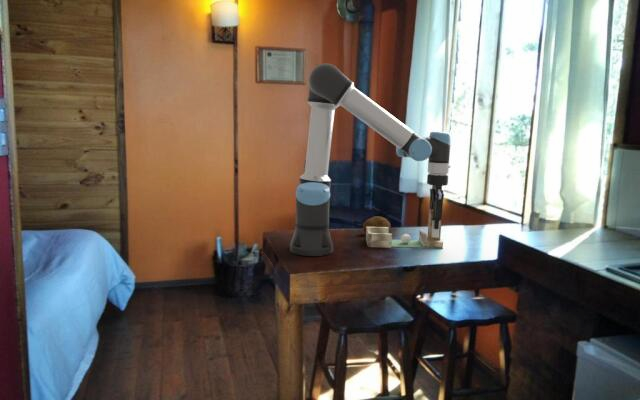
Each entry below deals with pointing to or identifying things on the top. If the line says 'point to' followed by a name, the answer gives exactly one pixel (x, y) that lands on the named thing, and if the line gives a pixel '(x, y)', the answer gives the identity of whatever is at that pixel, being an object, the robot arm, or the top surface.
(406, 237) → the ball
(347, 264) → the top surface
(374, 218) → the potato
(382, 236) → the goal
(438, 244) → the kicker
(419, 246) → the plate
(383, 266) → the top surface
